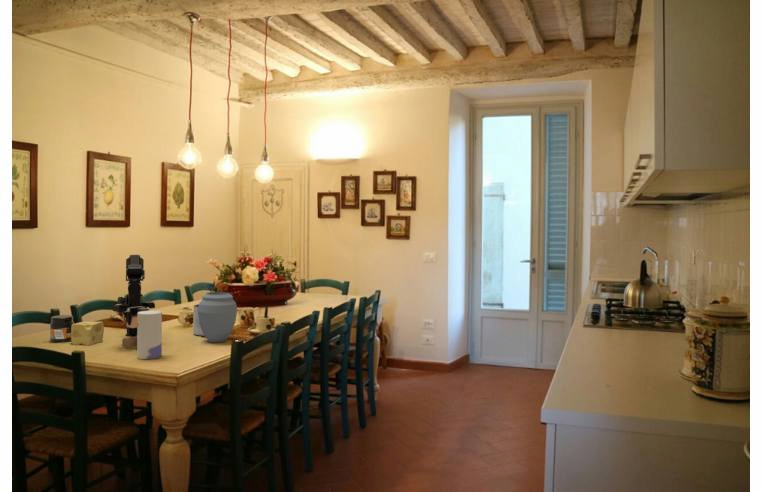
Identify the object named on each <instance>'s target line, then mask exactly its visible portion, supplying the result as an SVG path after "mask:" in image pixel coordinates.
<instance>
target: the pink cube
mask: <svg viewBox="0 0 764 492" xmlns="http://www.w3.org/2000/svg"><path fill="white" fill-rule="evenodd" d="M137 316H138V315H134V316H131V324H130V325H128V323H127V324H126V328H127V327H130V328H137V327H138V326H137Z"/></svg>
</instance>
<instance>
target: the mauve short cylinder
mask: <svg viewBox="0 0 764 492" xmlns="http://www.w3.org/2000/svg"><path fill="white" fill-rule="evenodd" d="M121 343H122V347H124V348H127V349H132V350H133V349H137V336H128V337H123V338H122V342H121Z"/></svg>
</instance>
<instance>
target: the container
mask: <svg viewBox="0 0 764 492" xmlns="http://www.w3.org/2000/svg"><path fill="white" fill-rule="evenodd" d="M162 321H163V312H162V311H160V310H149V311H141V312H138V316H137V326H138V327H137V348H136V349H137V350H136V352H137V354H136V355H137V356H136V358H137V359H141V360H152V359H157V358H161V357H162V355H163V353H162V351H163V349H162V346H163V345H162V344H163V343H162V342H163V341H162V338H163V336H162V335H163V331H162V329H163V328H162V326H163V324H162V323H163V322H162Z"/></svg>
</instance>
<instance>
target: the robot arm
mask: <svg viewBox="0 0 764 492" xmlns="http://www.w3.org/2000/svg"><path fill="white" fill-rule="evenodd" d="M144 262H145V261H144V258H143V257H141V254H129V257H127V258H125V282H128V283H127V293H126V295H125V296H126V297H123V296H118V297H117V304H114V305H113V307H112V311H113V312H115V313H116V312H118V313H122V315H123V316H124V318H125V325H127V323H128V325H130V324H131V316H134V315H138V312H141V311H150V309H151V310H152V309H156V304H155V302H154V301H142V297H144V296H143V294H142V282H143V281H144V280H145V278H146V277H145V276H146V275H145V272H146V270H145V269H144V266H145V265H144ZM141 281H142V282H141ZM125 335H126V336H128V337H135V336H137V328H130V327H127V326H126V334H125Z"/></svg>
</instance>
